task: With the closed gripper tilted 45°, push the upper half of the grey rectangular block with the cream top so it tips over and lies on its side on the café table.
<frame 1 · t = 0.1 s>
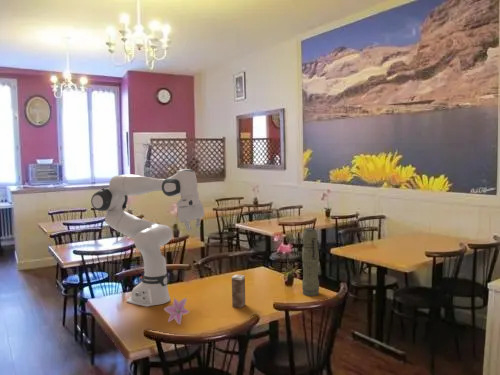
hand: (193, 228, 216), 39 cm above the table, fingers open, 8 cm apart
grey rectangular block: (238, 305, 217), on the table
lily: (177, 320, 200), on the table
thermos: (310, 293, 234), on the table
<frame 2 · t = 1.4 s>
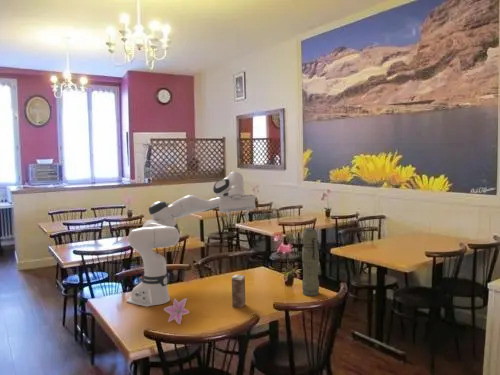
hand: (237, 216, 238), 41 cm above the table, fingers open, 8 cm apart
nothing on the table moved.
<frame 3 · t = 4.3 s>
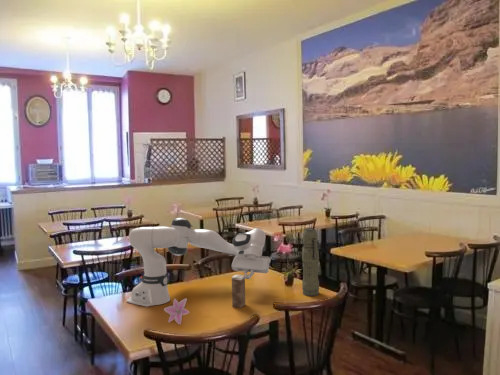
hand: (247, 278, 227), 11 cm above the table, fingers closed
nothing on the table moved.
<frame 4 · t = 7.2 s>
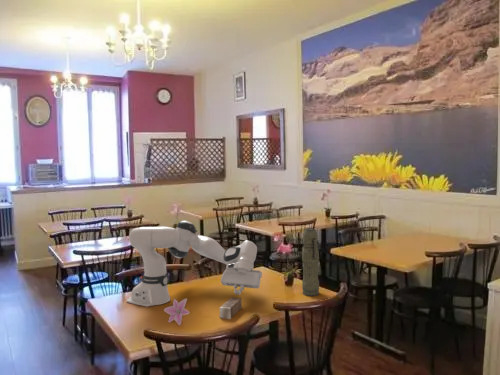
hand: (237, 293, 214), 7 cm above the table, fingers closed
grey rectangular block: (236, 302, 214), point 2 cm above the table, tilted 90°
everything else where it was.
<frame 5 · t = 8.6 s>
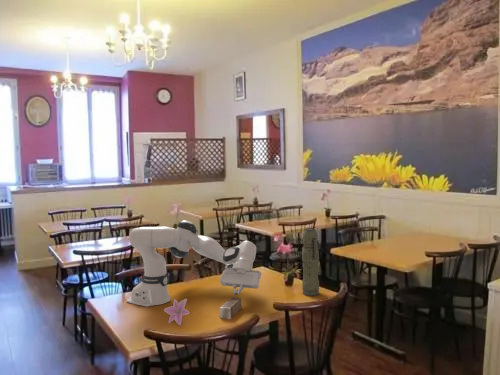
hand: (236, 294, 213), 7 cm above the table, fingers closed
nothing on the table moved.
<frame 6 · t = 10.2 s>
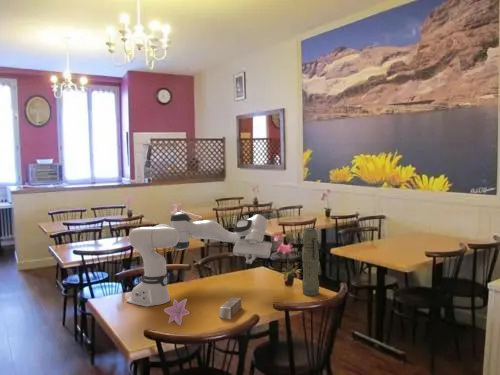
hand: (248, 263, 228), 18 cm above the table, fingers closed
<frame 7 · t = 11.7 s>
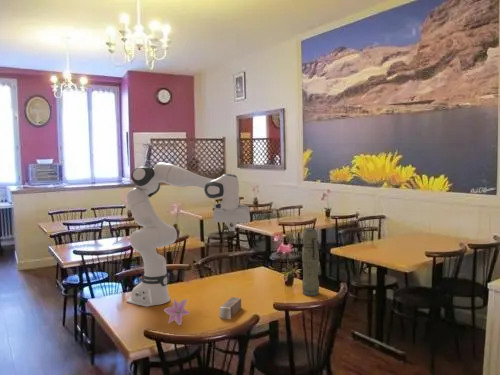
hand: (231, 230, 228), 35 cm above the table, fingers closed
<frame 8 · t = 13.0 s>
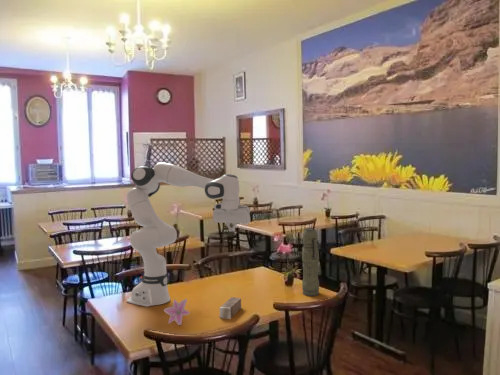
hand: (231, 231, 228), 35 cm above the table, fingers closed
at the end: grey rectangular block tilted 90°; grey rectangular block inside the target area (0.9 cm from its centre), point 2.4 cm above the table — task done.
